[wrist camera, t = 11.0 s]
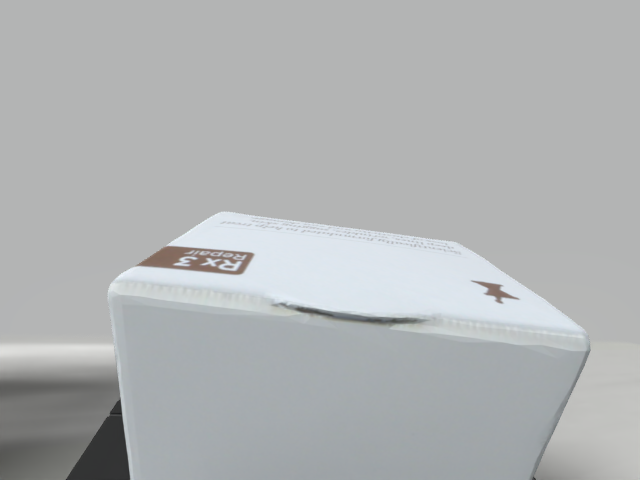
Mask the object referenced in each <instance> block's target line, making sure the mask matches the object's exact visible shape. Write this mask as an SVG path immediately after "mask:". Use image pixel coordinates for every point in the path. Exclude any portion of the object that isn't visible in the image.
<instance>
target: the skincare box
mask: <svg viewBox="0 0 640 480" xmlns="http://www.w3.org/2000/svg"><path fill="white" fill-rule="evenodd" d="M108 305H109V311H110V318H111V326H112V333H113V341H114V348H115V356H116V364H117V372H118V380H119V388H120V397H121V406H122V416H123V424H124V432H125V439H126V447H127V454H128V462H129V471H130V480H532V479H533V476H534V474H535V472H536V469H537V467H538V465H539V462H540V460H541V458H542V456H543V453H544V451H545V449H546V447H547V445H548V442H549V440H550V438H551V436H552V434H553V432H554V430H555V428H556V426H557V423H558V421H559V419H560V417H561V415H562V413H563V410H564V408H565V406H566V404H567V402H568V399H569V397H570V395H571V393H572V391H573V389H574V387H575V385H576V382H577V380H578V378H579V376H580V374H581V372H582V370H583V368H584V365H585V363H586V360H587V358H588V355H589V353H590V340H589V337H588V334H587V333H586V331H585V330H584V329H583V328H582V327H580V326H579V325H578V324H576V323H575V322H574V321H572V320H571V319H570V318H569V317H567V316H566V315H565V314H563V313H562V312H561V311H559V310H558V309H557V308H555V307H554V306H552V305H551V304H550V303H549V302H547V301H546V300H544V299H543V298H541V297H540V296H538V295H537V294H536V293H534V292H533V291H531V290H530V289H528V288H527V287H525V286H523V285H522V284H520V283H519V282H517V281H516V280H514V279H513V278H511V277H510V276H508V275H507V274H505V273H503V272H502V271H501V270H499V269H498V268H497V267H495V266H494V265H493V264H491V263H490V262H488V261H487V260H485V259H483V258H482V257H481V256H479V255H478V254H476V253H474V252H473V251H471V250H469V249H467V248H465V247H464V246H462V245H460V244H459V243H456V242H450V241H442V240H434V239H427V238H419V237H412V236H405V235H398V234H391V233H382V232H376V231H367V230H360V229H352V228H344V227H337V226H329V225H321V224H314V223H306V222H298V221H290V220H282V219H275V218H266V217H258V216H251V215H245V214H238V213H232V212H220V213H217V214H215V215H213V216H212V217H210V218H208V219H206V220H205V221H203V222H202V223H200V224H199V225H197V226H196V227H194V228H193V229H191V230H190V231H188V232H186V233H185V234H183V235H182V236H180V237H179V238H177V239H175V240H174V241H172V242H171V243H170V244H168V245H167V246H165V247H164V248H162V249H161V250H159V251H158V252H156V253H154V254H153V255H152V256H150V257H149V258H147V259H145V260H144V261H142V262H141V263H139V264H138V265H136V266H135V267H132V268H131V269H129V270H127V271H126V272H124V273H122V274H120V275H119V276H118V277H117V278H116V279H115V280H114V281H113V282H112V283H111V285H110V287H109V290H108Z"/></svg>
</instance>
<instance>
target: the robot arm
mask: <svg viewBox="0 0 640 480" xmlns="http://www.w3.org/2000/svg"><path fill="white" fill-rule="evenodd" d="M66 480H130V471H129V462H128V454H127V447H126V439H125V432H124V424H123V416H122V406H121V397H120V400H119V401H118V402H117V403H116V405H115V406H114V408H113V409H112V411H111V412H110V416H109V417H107V418H106V420H105V421H104V423H103V424H102V426H101V427H100V429H99V430H98V432H97V433H96V435H95V436H94V438H93V439H92V441H91V443H90V444H89V446H88V447H87V449H86V450H85V452H84V453H83V455H82V456H81V458H80V459H79V461H78V462H77V464H76V465H75V467H74V468H73V470H72V471H71V473H70V474H69V476H68V477H67V479H66ZM532 480H536V479H535V478H534V477H533V479H532Z"/></svg>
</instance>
